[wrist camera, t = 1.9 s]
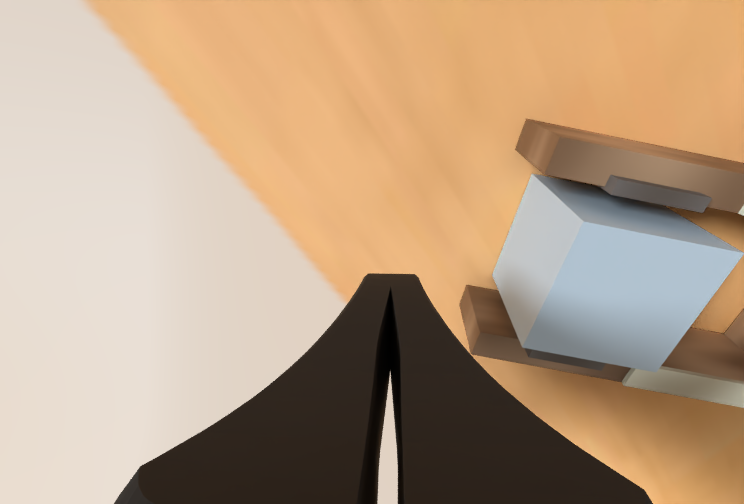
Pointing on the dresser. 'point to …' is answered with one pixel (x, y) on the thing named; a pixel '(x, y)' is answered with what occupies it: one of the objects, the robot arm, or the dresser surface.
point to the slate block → (605, 274)
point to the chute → (645, 183)
